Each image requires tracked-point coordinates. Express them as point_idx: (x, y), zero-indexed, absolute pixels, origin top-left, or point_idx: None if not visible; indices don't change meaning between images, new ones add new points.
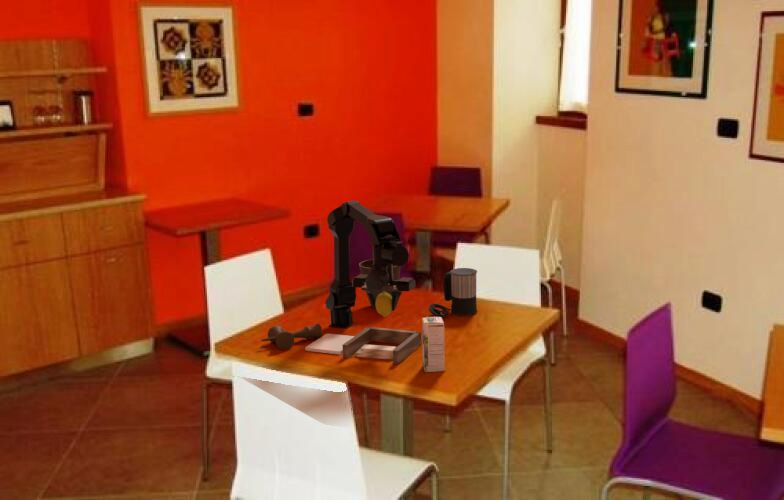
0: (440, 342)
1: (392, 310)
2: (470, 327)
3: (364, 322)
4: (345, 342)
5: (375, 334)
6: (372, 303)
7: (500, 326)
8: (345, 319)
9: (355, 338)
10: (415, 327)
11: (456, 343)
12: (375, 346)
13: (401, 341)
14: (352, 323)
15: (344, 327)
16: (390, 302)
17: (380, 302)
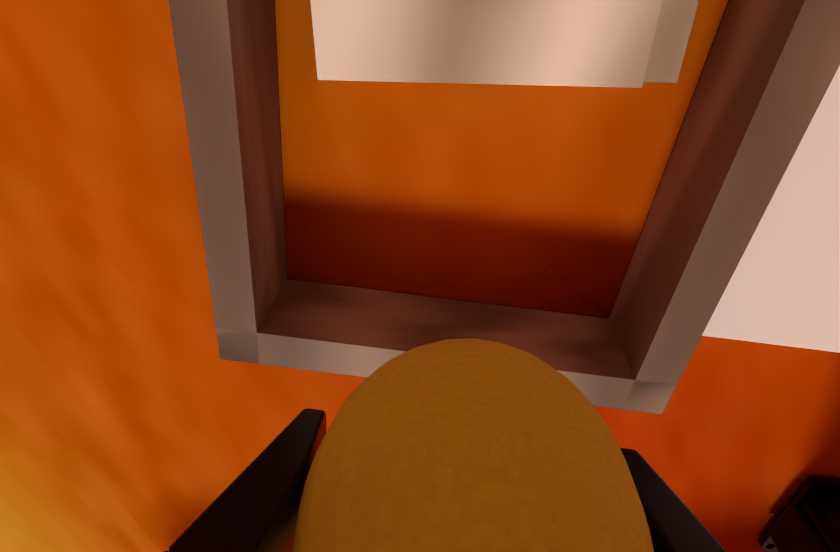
0: None
1: (321, 413)
2: (144, 525)
3: None
4: (825, 213)
5: (586, 346)
6: (711, 538)
7: (32, 540)
8: (837, 538)
9: (767, 121)
10: None
11: (70, 342)
12: (518, 43)
13: (380, 300)
14: (766, 531)
15: (820, 480)
16: (302, 538)
17: (510, 507)
